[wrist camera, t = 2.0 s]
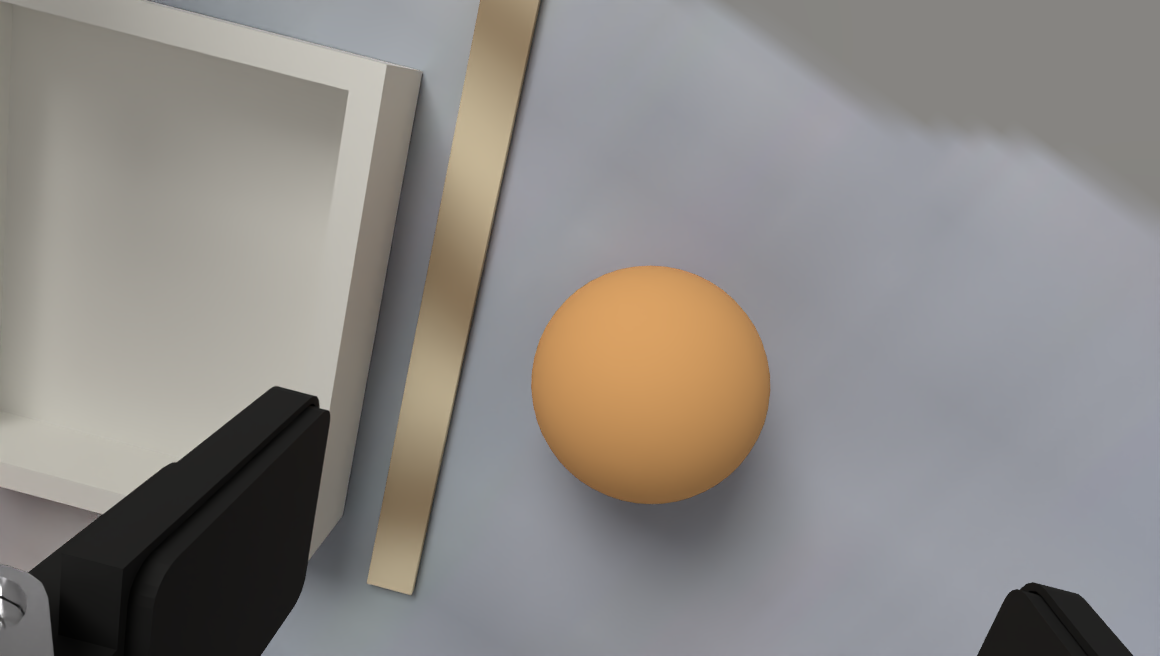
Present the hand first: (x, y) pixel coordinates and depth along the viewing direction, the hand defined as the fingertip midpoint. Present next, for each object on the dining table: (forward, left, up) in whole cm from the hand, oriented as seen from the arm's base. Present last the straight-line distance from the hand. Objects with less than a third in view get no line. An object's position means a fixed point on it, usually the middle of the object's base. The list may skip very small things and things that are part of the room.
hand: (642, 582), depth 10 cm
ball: (-1, 0, -13) cm, 13 cm away
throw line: (-1, +6, -13) cm, 14 cm away
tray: (-2, +14, -13) cm, 19 cm away
